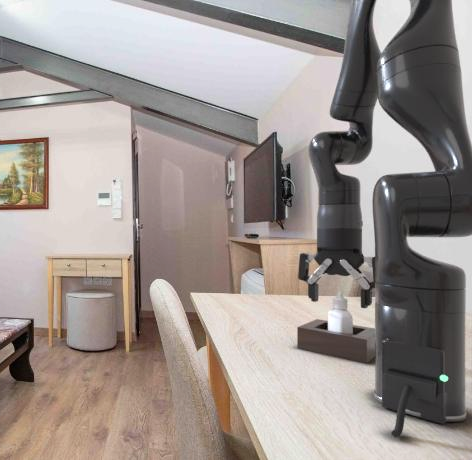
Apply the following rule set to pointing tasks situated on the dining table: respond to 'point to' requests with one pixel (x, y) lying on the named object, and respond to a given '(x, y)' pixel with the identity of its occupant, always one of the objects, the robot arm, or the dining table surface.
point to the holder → (337, 341)
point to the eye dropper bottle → (340, 316)
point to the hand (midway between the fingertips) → (338, 304)
